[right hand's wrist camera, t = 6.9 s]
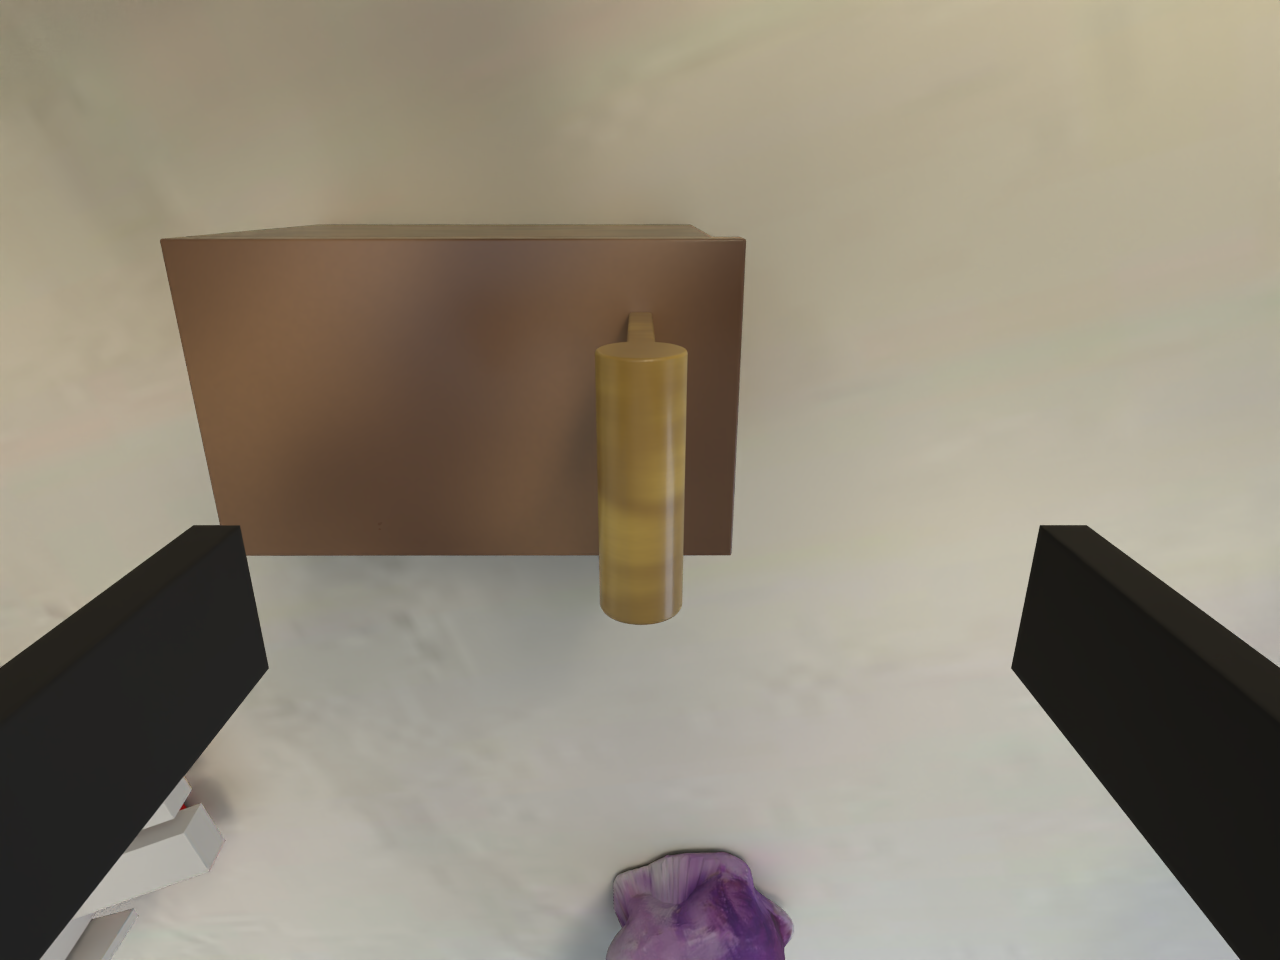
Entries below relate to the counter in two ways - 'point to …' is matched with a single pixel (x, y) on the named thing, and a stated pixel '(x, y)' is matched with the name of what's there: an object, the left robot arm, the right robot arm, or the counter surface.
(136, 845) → the toy
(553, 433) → the lid
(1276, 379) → the counter surface
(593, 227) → the chest
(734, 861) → the figurine
